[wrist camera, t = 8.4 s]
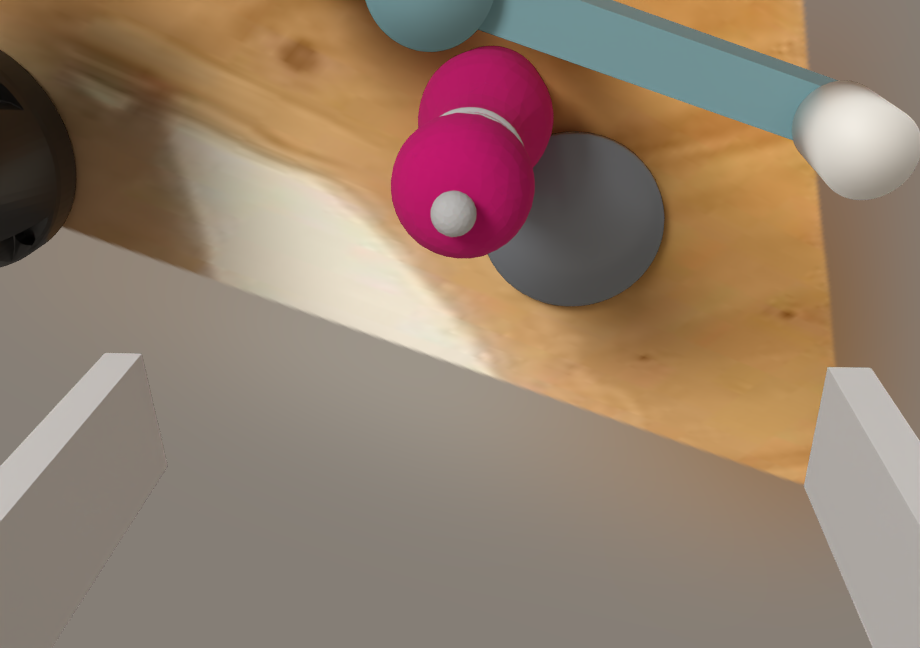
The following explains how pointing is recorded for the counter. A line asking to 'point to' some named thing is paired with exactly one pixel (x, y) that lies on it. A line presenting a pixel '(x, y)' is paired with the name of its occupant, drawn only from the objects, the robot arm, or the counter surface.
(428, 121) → the pepper mill
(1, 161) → the robot arm
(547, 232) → the slate coaster
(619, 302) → the counter surface
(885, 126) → the pegged blue crossbar
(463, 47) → the counter surface
